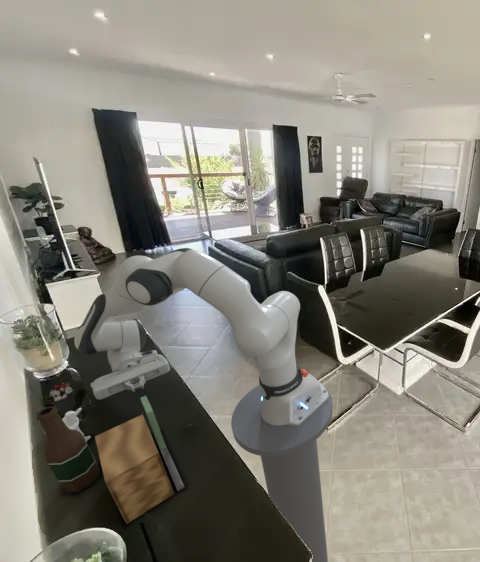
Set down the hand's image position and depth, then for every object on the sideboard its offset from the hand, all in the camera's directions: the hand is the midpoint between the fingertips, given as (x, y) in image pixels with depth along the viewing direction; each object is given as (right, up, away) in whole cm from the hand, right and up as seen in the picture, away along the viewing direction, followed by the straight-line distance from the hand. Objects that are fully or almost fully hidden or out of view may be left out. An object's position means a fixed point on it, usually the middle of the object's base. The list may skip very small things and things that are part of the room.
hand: (138, 388), depth 100 cm
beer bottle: (-3, -19, -15) cm, 25 cm away
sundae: (-23, -11, +3) cm, 25 cm away
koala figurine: (-13, -15, -6) cm, 21 cm away
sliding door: (+10, -14, -5) cm, 18 cm away
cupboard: (+12, -18, -13) cm, 25 cm away
